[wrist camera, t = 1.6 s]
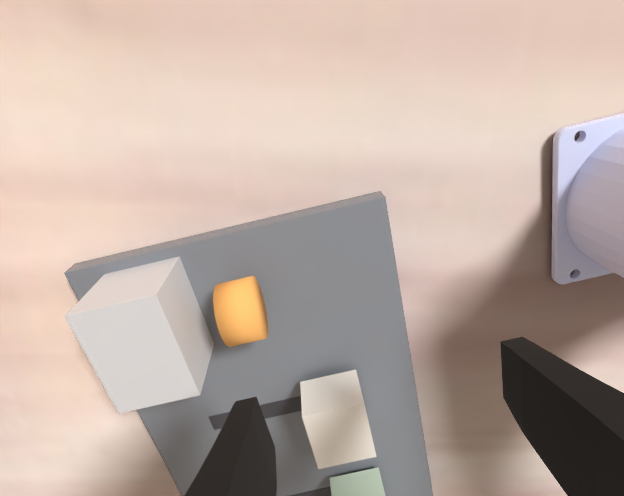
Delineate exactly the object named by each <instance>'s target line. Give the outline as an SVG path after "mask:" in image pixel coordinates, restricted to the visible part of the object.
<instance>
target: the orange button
mask: <svg viewBox="0 0 624 496" xmlns="http://www.w3.org/2000/svg"><path fill="white" fill-rule="evenodd" d="M213 306H214V314H215V319H216V323H217V327H218V330H219V333H220V335H221V338H222V340H223V341H224V343H225V344H226V345H227V346H228V347H232V346H237V345H241V344H245V343H250V342H254V341H259V340H263V339H267V337H268V318H267V312H266V306H265V302H264V298H263V294H262V291H261V288H260V285H259V283H258V281H257V279H256V278H255V276H250V277H245V278H241V279H237V280H232V281H228V282H224V283H220V284H217V285H216V286H215V288H214V292H213Z"/></svg>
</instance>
